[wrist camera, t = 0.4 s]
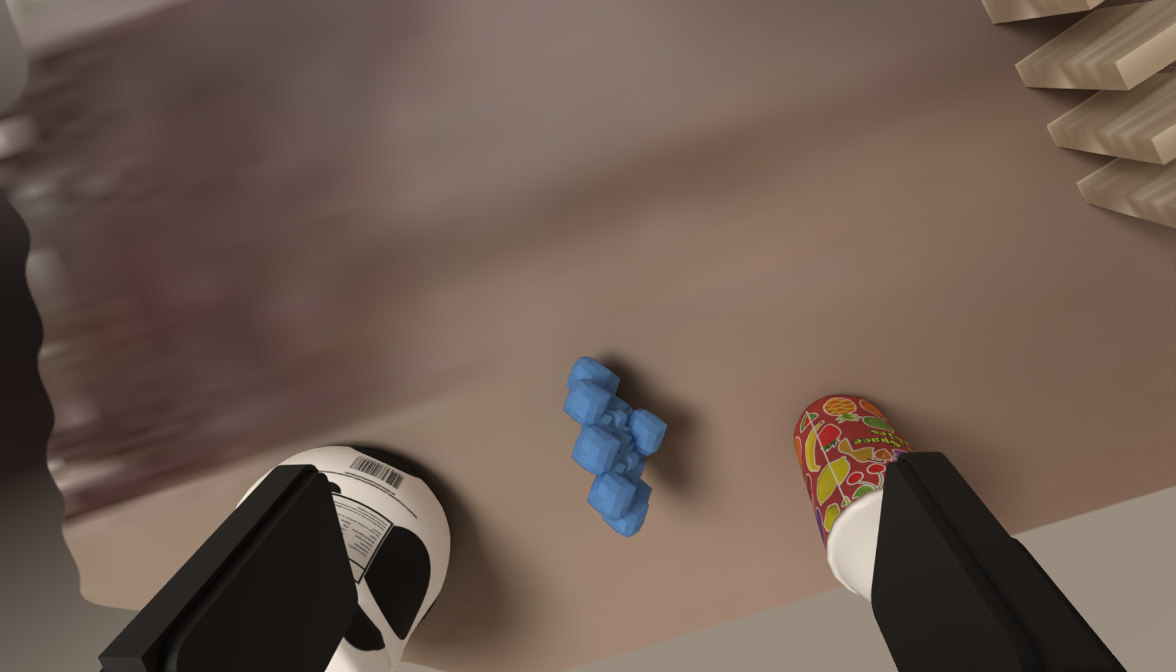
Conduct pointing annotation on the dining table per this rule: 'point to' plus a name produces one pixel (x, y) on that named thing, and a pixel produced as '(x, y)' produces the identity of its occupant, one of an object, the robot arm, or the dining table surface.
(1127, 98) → the domino
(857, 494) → the smoothie
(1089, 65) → the domino
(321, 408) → the dining table surface
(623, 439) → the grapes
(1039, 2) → the domino
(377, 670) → the milk container
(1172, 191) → the domino
